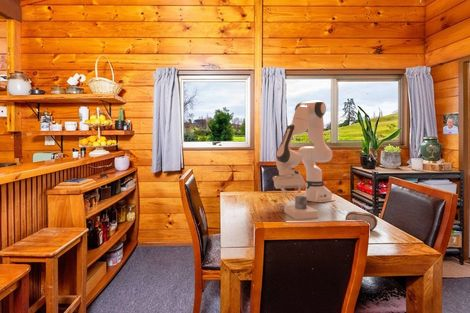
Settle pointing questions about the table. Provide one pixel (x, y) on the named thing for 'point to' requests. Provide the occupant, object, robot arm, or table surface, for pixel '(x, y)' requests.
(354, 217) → the grey rounded slab
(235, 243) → the table surface
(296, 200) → the block
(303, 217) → the riser
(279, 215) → the table surface
